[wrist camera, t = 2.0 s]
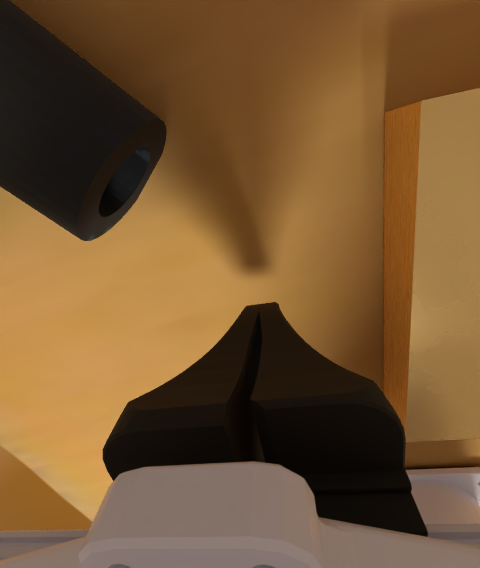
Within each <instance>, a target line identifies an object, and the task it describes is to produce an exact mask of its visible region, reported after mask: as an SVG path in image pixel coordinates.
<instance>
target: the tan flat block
mask: <svg viewBox="0 0 480 568" xmlns="http://www.w3.org/2000/svg"><path fill="white" fill-rule="evenodd" d="M383 394H384V395H385V396H386V398H387V399H388V401H389V402H390V404H391V405H392V407H393V408H394V410H395V411H396V413H397V415H398V417H399V418H400V420H401V423H402V425H403V427H404V431H405V437H406V442H424V441H443V440H462V439H480V88H477V89H472V90H468V91H463V92H458V93H454V94H449V95H445V96H440V97H436V98H431V99H427V100H422V101H419V102H416V103H413V104H410V105H407V106H404V107H401V108H398V109H395V110H392V111H388V112H385V113H384V372H383Z"/></svg>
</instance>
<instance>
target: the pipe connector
mask: <svg viewBox="0 0 480 568" xmlns="http://www.w3.org/2000/svg"><path fill="white" fill-rule="evenodd" d="M165 141H166V126H165V124H164V122H163V121H162V120H161V119H159V118H158V117H157V116H155V115H154V114H153V113H152V112H150V111H149V110H148V109H147V108H145V107H144V106H143V105H141V104H140V103H139V102H138V101H136V100H135V99H134V98H133V97H131V96H130V95H129V94H127V93H126V92H125V91H124V90H122V89H121V88H120V87H119V86H117V85H116V84H115V83H114V82H112V81H111V80H110V79H108V78H107V77H106V76H105V75H103V74H102V73H101V72H100V71H98V70H97V69H96V68H94V67H93V66H92V65H91V64H89V63H88V62H87V61H86V60H84V59H83V58H82V57H80V56H79V55H78V54H77V53H75V52H74V51H73V50H72V49H70V48H69V47H68V46H66V45H65V44H64V43H63V42H61V41H60V40H59V39H58V38H56V37H55V36H54V35H52V34H51V33H50V32H49V31H47V30H46V29H45V28H44V27H42V26H41V25H40V24H38V23H37V22H36V21H35V20H33V19H32V18H31V17H30V16H28V15H27V14H26V13H25V12H23V11H22V10H21V9H19V8H18V7H17V6H16V5H14V4H13V3H12V2H11V1H9V0H0V187H2V188H4V189H5V190H7V191H8V192H10V193H11V194H13V195H14V196H16V197H17V198H19V199H20V200H22V201H23V202H25V203H26V204H28V205H29V206H31V207H32V208H34V209H35V210H37V211H38V212H40V213H42V214H43V215H45V216H46V217H48V218H49V219H51V220H52V221H54V222H55V223H57V224H58V225H60V226H61V227H63V228H64V229H66V230H67V231H69V232H70V233H72V234H73V235H75V236H77V237H78V238H80V239H81V240H84V241H91V240H93V239H96V238H98V237H100V236H101V235H103V234H104V233H106V232H107V231H108V230H110V229H111V228H112V227H113V226H114V225H115V224H116V223H117V222H118V221H119V220H120V219H121V218H122V217H123V216H124V215H125V214H126V213H127V212H128V210H129V209H130V208H131V207H132V205H133V204H134V203H135V202H136V200H137V198H138V197H139V195H140V193H141V191H142V189H143V188H144V186H145V184H146V182H147V180H148V179H149V177H150V175H151V173H152V171H153V170H154V168H155V166H156V164H157V162H158V161H159V159H160V157H161V155H162V152H163V149H164V145H165Z"/></svg>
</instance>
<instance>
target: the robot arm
mask: <svg viewBox="0 0 480 568" xmlns="http://www.w3.org/2000/svg"><path fill="white" fill-rule="evenodd" d="M405 444H406V437H405V431H404V427H403V425H402V423H401V420H400V418H399V417H398V415H397V413H396V411H395V410H394V408H393V407H392V405H391V404H390V402H389V401H388V399H387V398H386V396H385V395H384V394H383V392H382V391H381V390H380V388H379V387H378V386H377V385H376V383H375V382H374V381H373V380H370V379H368V378H365V377H363V376H360V375H358V374H356V373H353V372H351V371H349V370H346V369H345V368H343V367H341V366H339V365H337V364H335V363H333V362H332V361H330V360H329V359H327V358H326V357H324V356H322V355H321V354H320V353H318V352H317V351H316V350H314V349H313V348H312V347H311V346H310V345H309V344H307V343H306V342H305V341H304V340H303V339H302V338H301V337H300V336H299V335H298V334H297V333H296V331H295V330H294V329H293V328H292V327H291V325H290V324H289V323H288V321H287V320H286V319H285V317H284V316H283V314H282V312H281V310H280V308H279V304H277V303H276V302H273V303H265V304H258V305H250V306H246V307H245V308H244V310H243V311H242V312H241V314H240V315H239V317H238V318H237V319H236V321H235V322H234V324H233V325H232V326H231V327H230V329H229V330H228V331H227V333H226V334H225V335H224V336H223V337H222V338H221V339H220V341H219V342H218V343H217V344H216V345H215V346H214V347H213V348H212V349H211V350H210V351H209V352H207V353H206V354H205V355H204V356H203V357H202V358H201V359H199V360H198V361H197V362H196V363H194V364H193V365H192V366H190V367H189V368H188V369H186V370H185V371H184V372H182V373H181V374H179V375H178V376H176V377H174V378H173V379H171V380H170V381H168V382H166V383H165V384H163V385H161V386H159V387H158V388H156V389H154V390H152V391H150V392H148V393H146V394H144V395H142V396H140V397H138V398H136V399H134V400H132V401H130V402H128V403H127V405H126V407H125V408H124V410H123V412H122V414H121V415H120V417H119V419H118V421H117V423H116V425H115V427H114V428H113V430H112V432H111V434H110V436H109V438H108V440H107V441H106V444H105V446H104V448H103V461H104V463H105V466H106V469H107V471H108V473H109V474H110V476H111V478H112V480H113V483H112V484H111V485H110V486H109V488H108V490H107V493H106V495H105V497H104V499H103V501H102V503H101V506H100V508H99V510H98V512H97V514H96V516H95V519H94V521H93V523H92V525H91V527H90V529H89V530H40V531H38V530H36V531H0V568H480V467H465V468H440V469H415V470H405V468H404V463H405Z"/></svg>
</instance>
